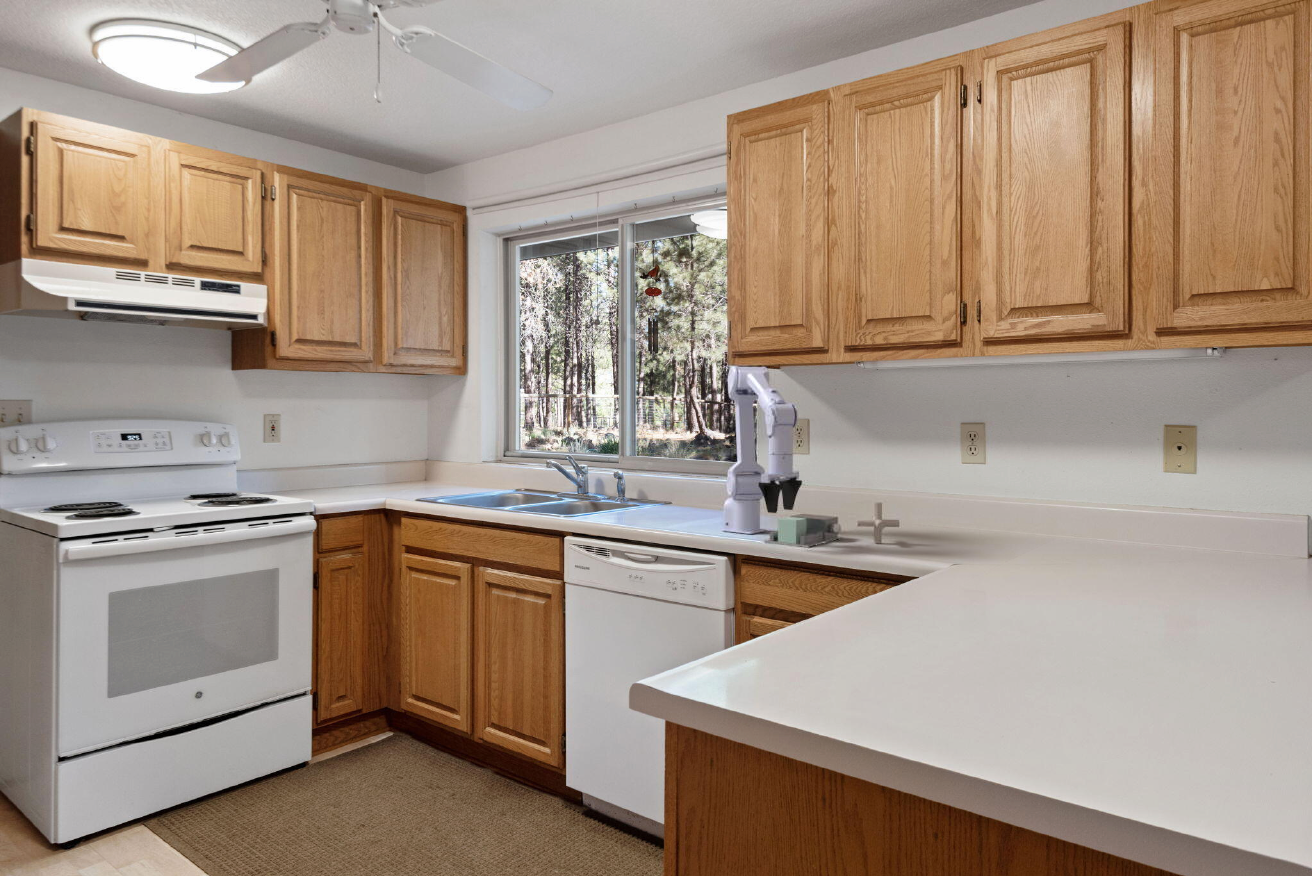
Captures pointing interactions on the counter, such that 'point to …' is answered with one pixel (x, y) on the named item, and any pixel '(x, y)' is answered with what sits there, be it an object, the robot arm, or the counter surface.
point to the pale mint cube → (791, 529)
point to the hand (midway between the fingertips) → (780, 511)
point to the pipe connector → (877, 522)
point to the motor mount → (813, 531)
